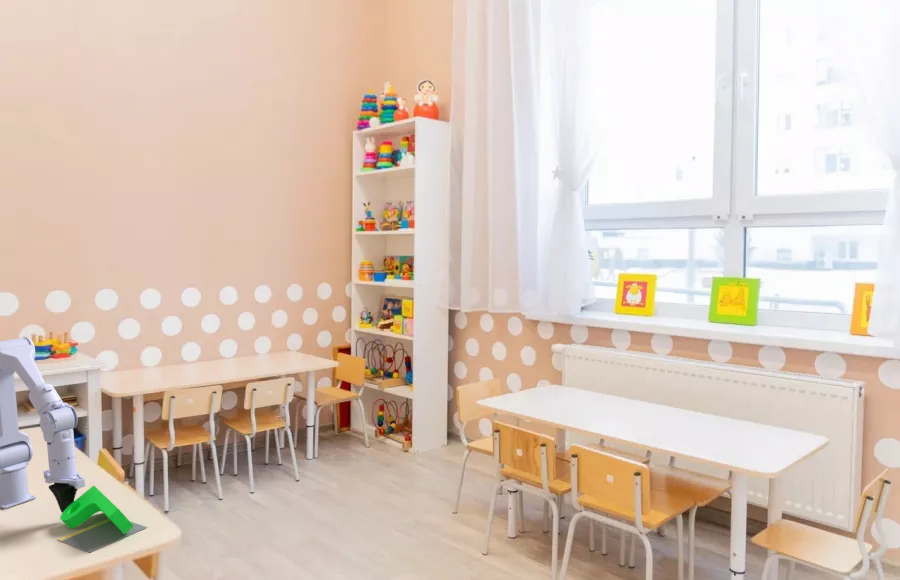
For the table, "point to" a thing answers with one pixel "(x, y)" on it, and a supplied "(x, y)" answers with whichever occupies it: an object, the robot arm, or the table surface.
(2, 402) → the robot arm
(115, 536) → the mat
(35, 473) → the table surface
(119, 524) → the bracket
